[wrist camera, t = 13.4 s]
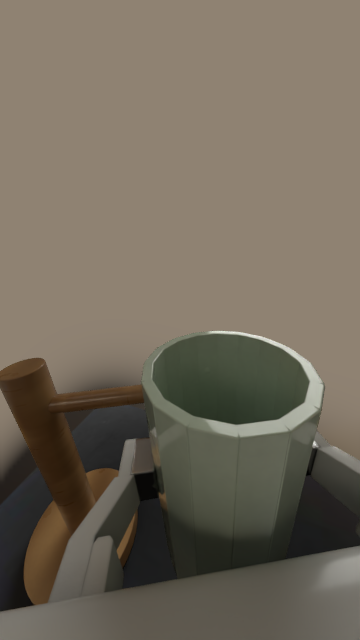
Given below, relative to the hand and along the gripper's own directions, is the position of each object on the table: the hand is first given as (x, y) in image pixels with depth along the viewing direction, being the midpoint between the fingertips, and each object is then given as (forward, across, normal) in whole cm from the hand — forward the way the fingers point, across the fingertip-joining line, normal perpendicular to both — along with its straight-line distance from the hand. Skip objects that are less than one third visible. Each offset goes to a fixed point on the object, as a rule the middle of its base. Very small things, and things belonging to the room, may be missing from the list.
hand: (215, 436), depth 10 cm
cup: (+1, 0, +6) cm, 6 cm away
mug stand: (+4, +8, +15) cm, 17 cm away
